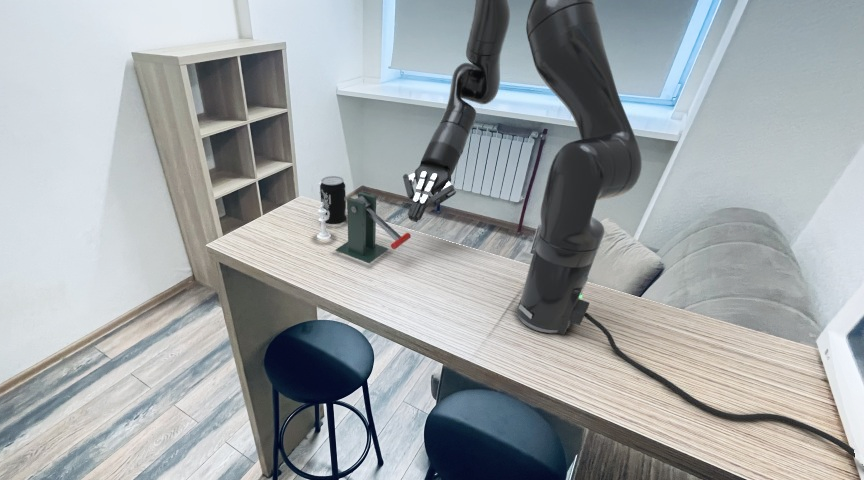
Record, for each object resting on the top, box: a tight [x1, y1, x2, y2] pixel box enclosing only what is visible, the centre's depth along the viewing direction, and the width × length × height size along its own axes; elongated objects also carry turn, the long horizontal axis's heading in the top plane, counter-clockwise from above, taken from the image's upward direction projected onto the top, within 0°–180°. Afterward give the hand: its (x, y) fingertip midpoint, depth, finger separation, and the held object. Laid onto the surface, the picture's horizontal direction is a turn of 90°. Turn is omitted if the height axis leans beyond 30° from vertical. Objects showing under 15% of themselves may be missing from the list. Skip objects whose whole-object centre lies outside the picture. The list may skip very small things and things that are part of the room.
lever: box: [355, 196, 412, 250], centre depth 90 cm, size 14×6×2 cm, turn 53°
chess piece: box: [316, 201, 332, 240], centre depth 101 cm, size 5×5×10 cm
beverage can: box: [319, 175, 347, 225], centre depth 108 cm, size 7×7×12 cm
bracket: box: [334, 191, 389, 264], centre depth 94 cm, size 10×8×14 cm
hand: (412, 220), depth 89 cm, fingers closed
